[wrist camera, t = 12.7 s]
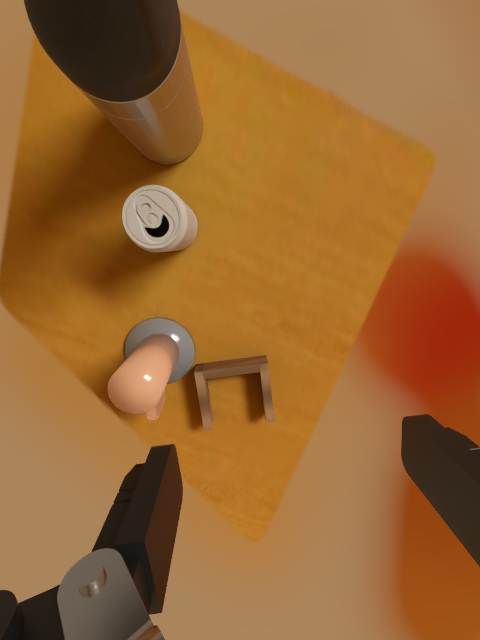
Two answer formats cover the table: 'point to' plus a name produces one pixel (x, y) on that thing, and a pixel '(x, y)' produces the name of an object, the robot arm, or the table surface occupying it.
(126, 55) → the robot arm
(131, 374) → the peach cylinder with handle
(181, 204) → the beverage can
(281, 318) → the table surface
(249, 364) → the wooden u-shaped frame
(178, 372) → the grey dome disc
